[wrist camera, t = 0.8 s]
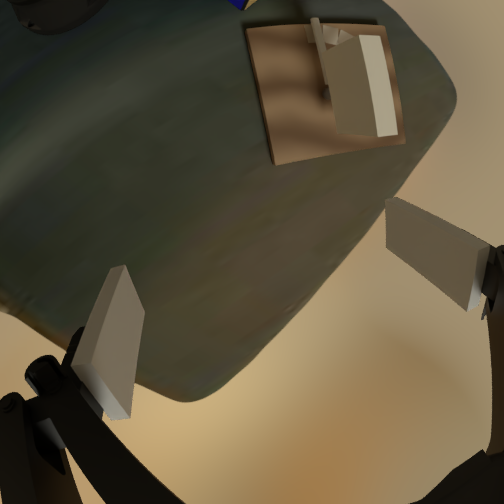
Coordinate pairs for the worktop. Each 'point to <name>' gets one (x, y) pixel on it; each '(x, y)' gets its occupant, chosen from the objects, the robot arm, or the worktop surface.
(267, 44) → the brown square board
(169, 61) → the worktop surface
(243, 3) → the puzzle cube
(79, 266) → the worktop surface
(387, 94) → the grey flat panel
